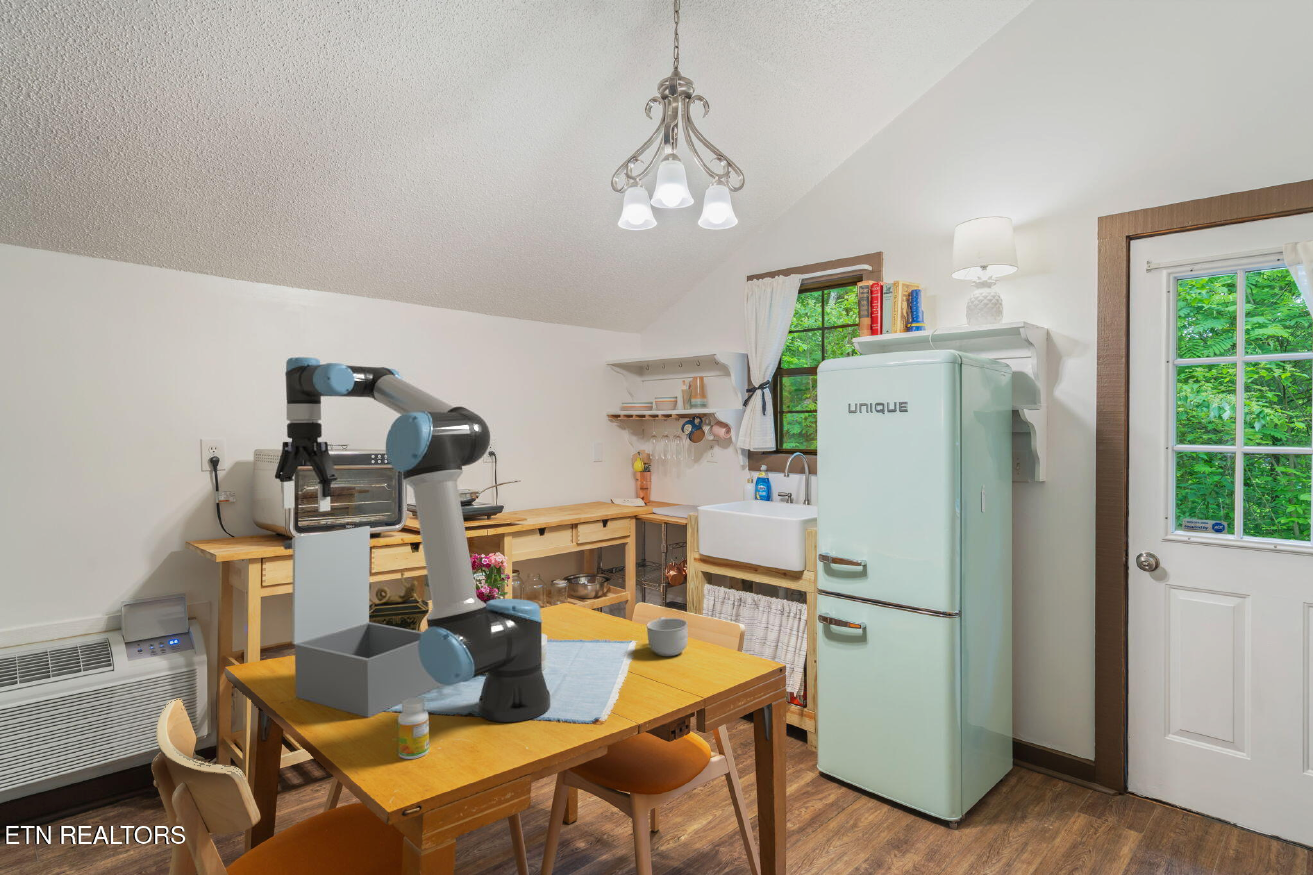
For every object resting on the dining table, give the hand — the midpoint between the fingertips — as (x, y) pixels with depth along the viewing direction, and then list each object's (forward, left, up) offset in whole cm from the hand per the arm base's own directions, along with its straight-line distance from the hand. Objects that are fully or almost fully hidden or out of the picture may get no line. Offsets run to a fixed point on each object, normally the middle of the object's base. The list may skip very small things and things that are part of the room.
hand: (306, 509), depth 173 cm
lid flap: (-10, 0, -17) cm, 19 cm away
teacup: (-69, -57, -41) cm, 98 cm away
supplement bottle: (-55, +17, -41) cm, 70 cm away
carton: (-22, 0, -41) cm, 46 cm away
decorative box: (+2, -27, -41) cm, 49 cm away
